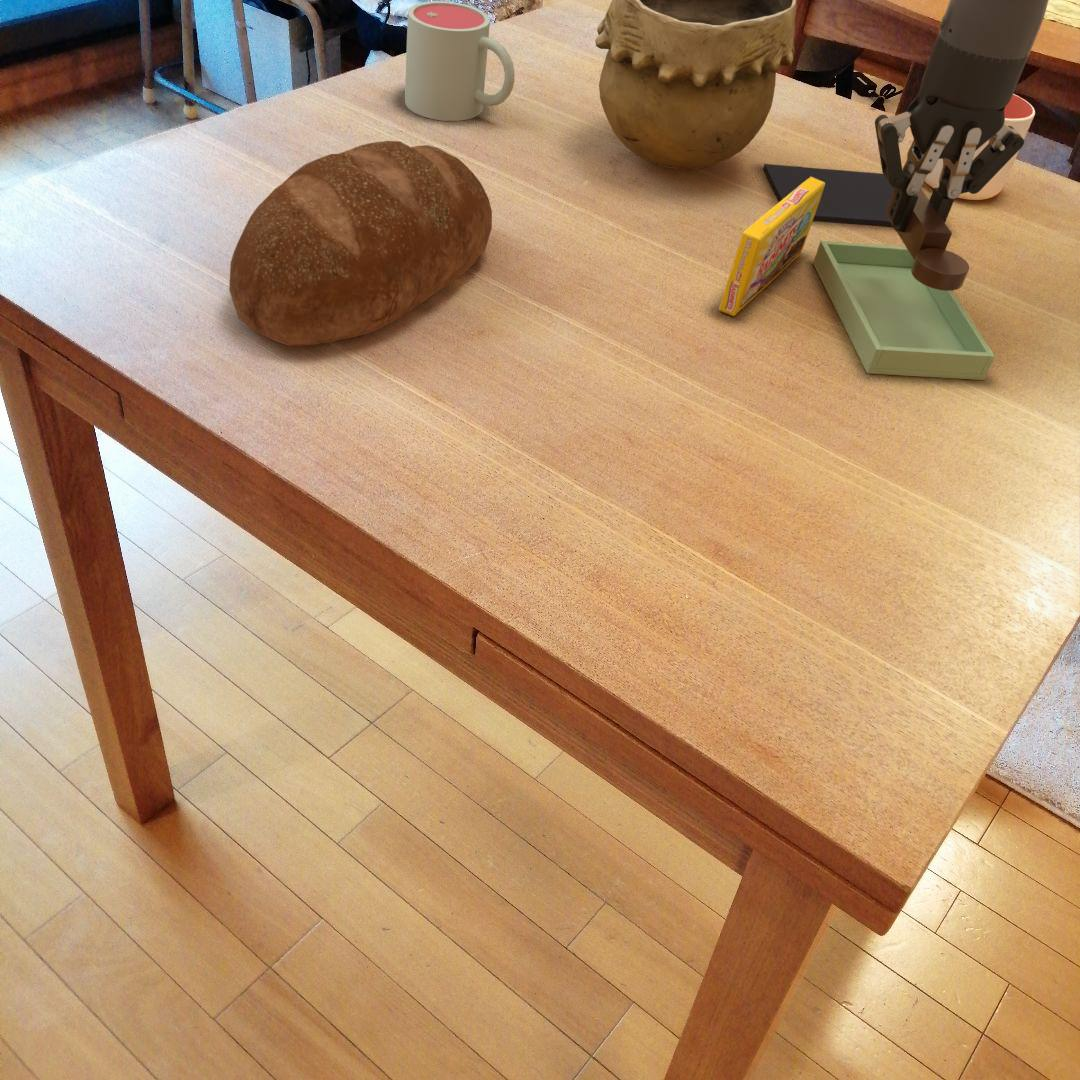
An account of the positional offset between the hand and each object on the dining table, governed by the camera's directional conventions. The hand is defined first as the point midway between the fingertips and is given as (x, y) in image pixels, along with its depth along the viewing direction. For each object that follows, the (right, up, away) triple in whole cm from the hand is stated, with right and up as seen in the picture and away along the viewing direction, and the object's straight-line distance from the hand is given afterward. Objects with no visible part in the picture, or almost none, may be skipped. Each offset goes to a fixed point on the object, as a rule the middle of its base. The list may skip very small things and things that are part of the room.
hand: (912, 228), depth 102 cm
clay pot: (-20, +14, +23) cm, 34 cm away
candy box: (-13, -4, +5) cm, 15 cm away
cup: (+15, +13, +28) cm, 34 cm away
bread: (-50, -6, -3) cm, 51 cm away
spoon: (0, -3, -2) cm, 3 cm away
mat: (0, +9, +21) cm, 23 cm away
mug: (-44, +21, +26) cm, 56 cm away
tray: (-1, -8, +3) cm, 8 cm away
